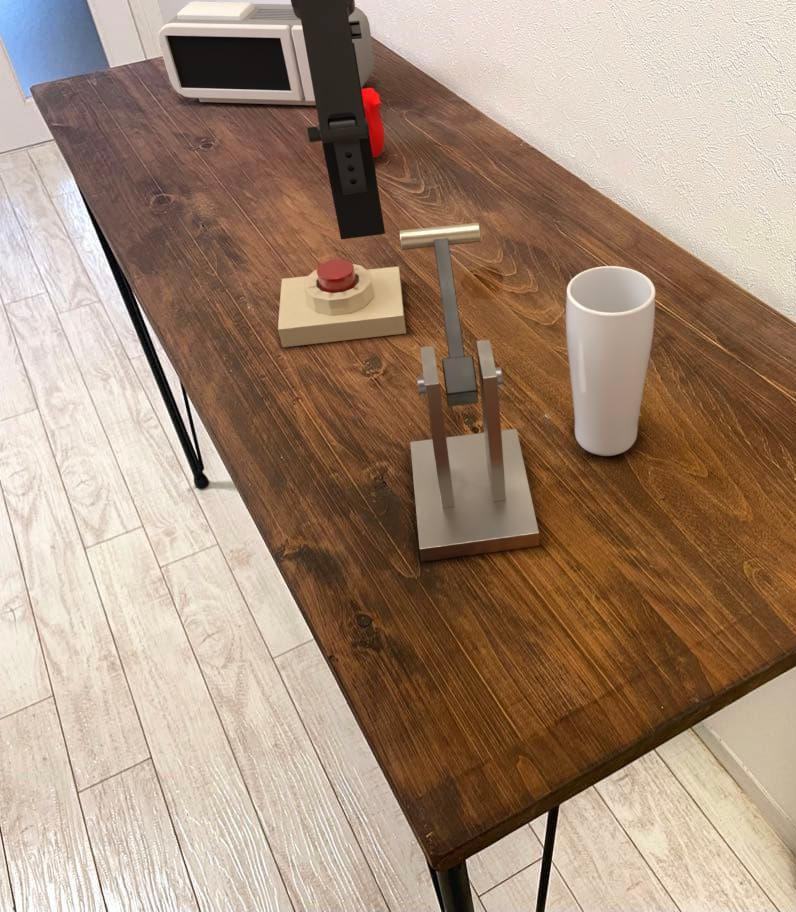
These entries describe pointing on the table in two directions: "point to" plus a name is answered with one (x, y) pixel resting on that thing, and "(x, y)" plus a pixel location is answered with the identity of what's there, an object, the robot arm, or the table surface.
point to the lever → (449, 305)
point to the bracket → (470, 475)
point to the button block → (341, 308)
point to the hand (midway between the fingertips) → (356, 183)
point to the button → (336, 276)
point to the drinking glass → (608, 354)
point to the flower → (373, 119)
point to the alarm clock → (246, 53)
